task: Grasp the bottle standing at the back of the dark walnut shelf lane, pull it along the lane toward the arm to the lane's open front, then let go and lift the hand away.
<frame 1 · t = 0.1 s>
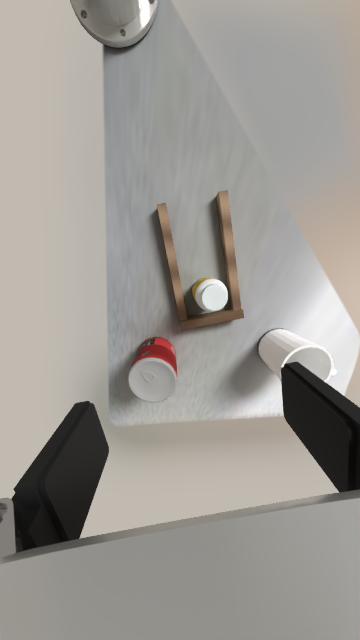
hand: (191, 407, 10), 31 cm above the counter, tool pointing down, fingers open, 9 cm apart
shelf lane: (201, 264, 38), on the counter
canned food: (157, 352, 43), on the counter
supplement bottle: (205, 290, 40), on the counter
mug: (279, 346, 43), on the counter
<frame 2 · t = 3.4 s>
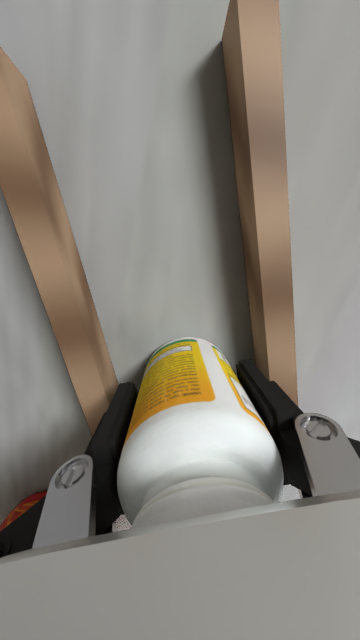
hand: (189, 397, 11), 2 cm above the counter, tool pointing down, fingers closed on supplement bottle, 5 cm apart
shelf lane: (171, 298, 12), on the counter
canned food: (64, 520, 16), on the counter
supplement bottle: (186, 372, 13), on the counter, touching gripper
when the fingers open (3 cm above the counter, at t = 8.3 s): supplement bottle stays where it is, on the counter.
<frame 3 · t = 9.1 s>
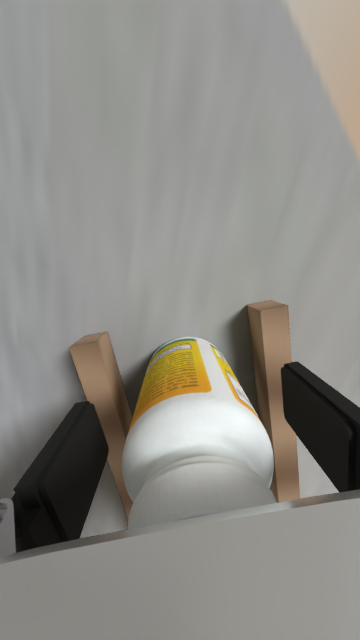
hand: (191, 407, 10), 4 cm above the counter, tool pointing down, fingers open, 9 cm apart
shelf lane: (204, 456, 15), on the counter
supplement bottle: (186, 370, 14), on the counter
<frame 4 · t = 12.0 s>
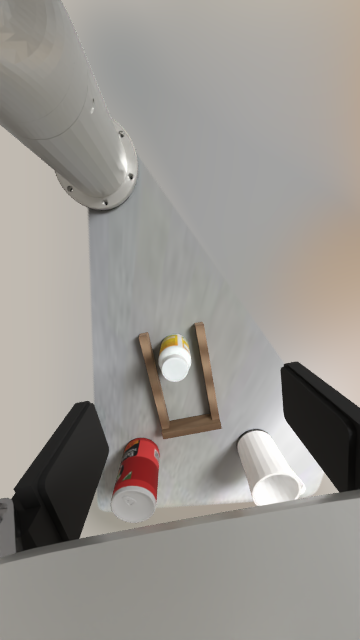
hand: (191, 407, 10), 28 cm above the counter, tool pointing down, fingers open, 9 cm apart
shelf lane: (181, 378, 41), on the counter
canned food: (142, 450, 45), on the counter
supplement bottle: (174, 345, 39), on the counter
mug: (257, 443, 46), on the counter
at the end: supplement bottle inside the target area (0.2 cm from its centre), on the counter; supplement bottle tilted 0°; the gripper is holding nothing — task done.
